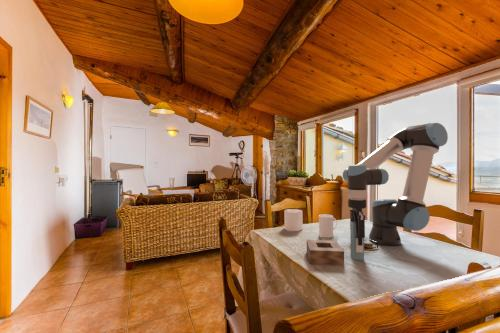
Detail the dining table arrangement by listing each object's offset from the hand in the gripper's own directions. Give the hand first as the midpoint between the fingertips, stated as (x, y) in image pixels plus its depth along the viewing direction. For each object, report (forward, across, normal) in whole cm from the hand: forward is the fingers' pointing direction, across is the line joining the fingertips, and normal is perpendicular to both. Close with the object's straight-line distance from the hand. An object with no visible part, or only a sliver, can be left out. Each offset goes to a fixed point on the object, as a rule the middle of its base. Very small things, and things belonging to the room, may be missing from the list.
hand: (357, 249), depth 108 cm
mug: (+4, -33, -6) cm, 34 cm away
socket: (+4, +2, -15) cm, 16 cm away
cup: (+4, -46, -26) cm, 53 cm away
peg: (+4, 0, 0) cm, 4 cm away
